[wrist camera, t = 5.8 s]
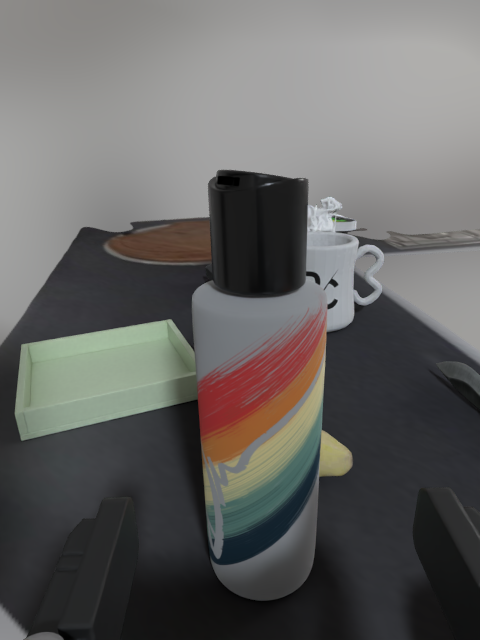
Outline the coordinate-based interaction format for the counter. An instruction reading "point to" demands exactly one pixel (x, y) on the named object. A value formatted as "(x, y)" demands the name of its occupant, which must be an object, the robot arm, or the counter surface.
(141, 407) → the green tray
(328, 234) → the mug
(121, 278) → the counter surface
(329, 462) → the fruit
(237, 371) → the lotion bottle
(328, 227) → the figurine
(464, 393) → the knife
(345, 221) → the sign
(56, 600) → the robot arm
